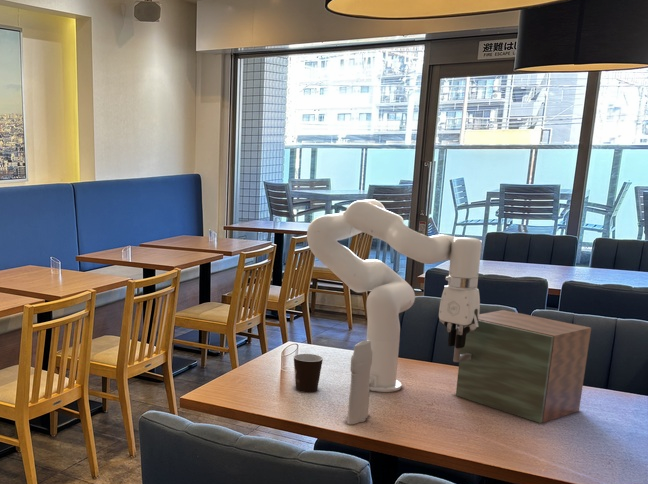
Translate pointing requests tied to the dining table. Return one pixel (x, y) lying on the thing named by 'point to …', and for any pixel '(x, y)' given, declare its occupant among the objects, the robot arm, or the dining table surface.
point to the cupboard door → (505, 369)
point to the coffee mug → (307, 372)
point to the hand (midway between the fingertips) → (456, 346)
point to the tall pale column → (360, 382)
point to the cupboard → (555, 358)
